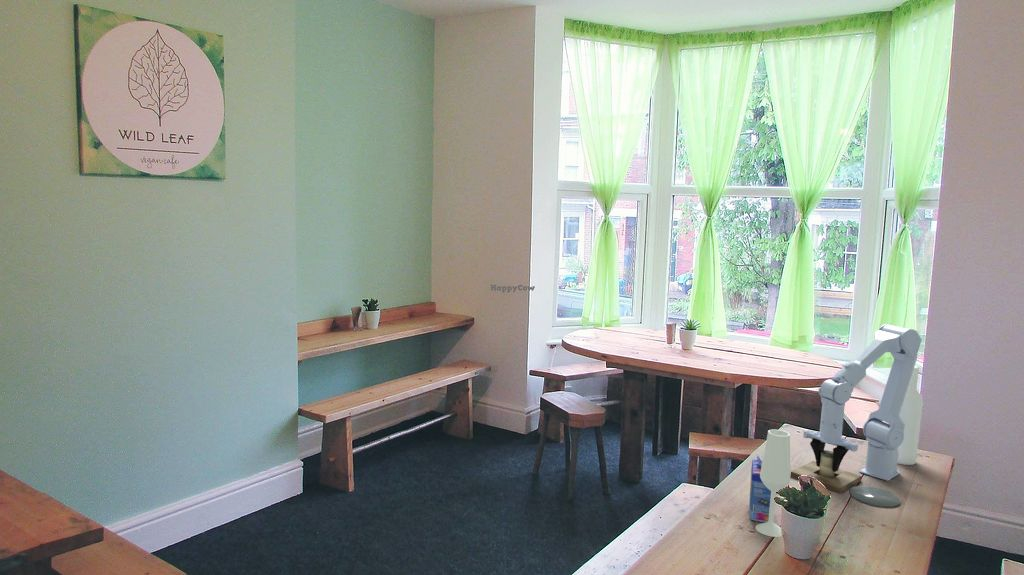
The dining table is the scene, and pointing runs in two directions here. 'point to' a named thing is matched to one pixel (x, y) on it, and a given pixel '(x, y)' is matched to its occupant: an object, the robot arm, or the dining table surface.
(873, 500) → the disc
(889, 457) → the robot arm
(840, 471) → the socket block
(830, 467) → the small jar
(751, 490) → the ink cartridge box
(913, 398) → the bottle
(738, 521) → the dining table surface
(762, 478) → the champagne flute
